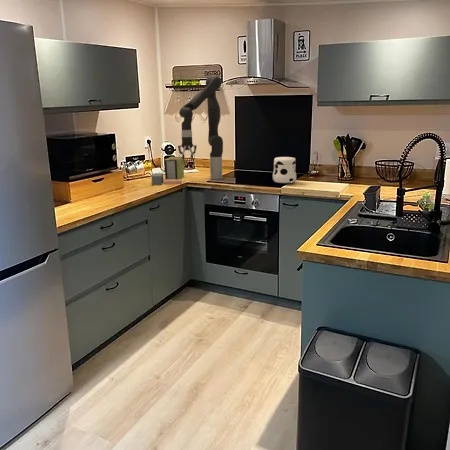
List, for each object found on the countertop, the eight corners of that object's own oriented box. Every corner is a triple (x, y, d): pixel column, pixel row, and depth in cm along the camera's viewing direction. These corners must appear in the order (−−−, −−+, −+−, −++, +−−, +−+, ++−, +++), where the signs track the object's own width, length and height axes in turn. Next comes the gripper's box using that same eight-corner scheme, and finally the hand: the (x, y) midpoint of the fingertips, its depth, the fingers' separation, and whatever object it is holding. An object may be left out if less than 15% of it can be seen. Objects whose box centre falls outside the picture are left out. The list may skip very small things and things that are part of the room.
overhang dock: (163, 181, 343) (163, 173, 342) (161, 184, 332) (161, 176, 330) (154, 181, 343) (153, 173, 342) (152, 185, 332) (151, 176, 330)
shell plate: (181, 182, 342) (181, 179, 341) (180, 184, 334) (180, 181, 333) (164, 182, 342) (164, 179, 341) (163, 184, 334) (163, 181, 333)
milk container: (301, 182, 331) (301, 158, 326) (285, 186, 320) (286, 161, 315) (282, 179, 344) (283, 155, 338) (267, 183, 332) (267, 158, 327)
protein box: (184, 176, 363) (183, 156, 358) (177, 180, 348) (176, 159, 344) (171, 175, 365) (171, 156, 361) (164, 179, 351) (163, 159, 346)
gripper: (197, 135, 331) (197, 158, 336) (177, 135, 331) (178, 158, 336) (196, 136, 324) (197, 160, 329) (176, 136, 324) (177, 160, 329)
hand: (187, 159), depth 333 cm, fingers open, 5 cm apart
